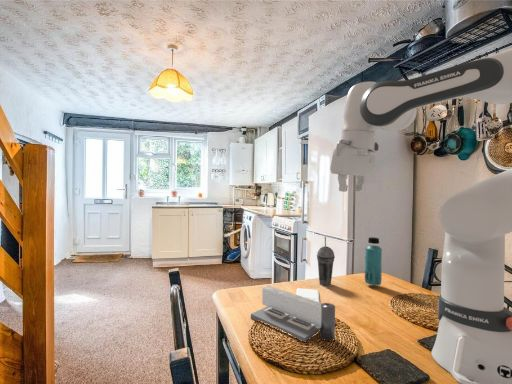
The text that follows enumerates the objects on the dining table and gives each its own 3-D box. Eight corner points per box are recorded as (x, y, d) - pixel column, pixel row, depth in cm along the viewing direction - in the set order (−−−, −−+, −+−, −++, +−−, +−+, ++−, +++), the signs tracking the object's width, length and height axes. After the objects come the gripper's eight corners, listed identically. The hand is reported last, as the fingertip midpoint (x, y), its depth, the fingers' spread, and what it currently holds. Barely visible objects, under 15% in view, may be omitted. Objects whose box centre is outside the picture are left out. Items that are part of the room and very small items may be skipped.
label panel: (335, 321, 81) (335, 316, 81) (304, 342, 69) (304, 336, 69) (283, 302, 94) (283, 298, 94) (250, 317, 82) (250, 312, 82)
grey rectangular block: (337, 337, 71) (337, 305, 71) (330, 342, 69) (330, 310, 69) (269, 309, 87) (269, 283, 87) (261, 313, 85) (262, 286, 85)
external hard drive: (318, 294, 104) (319, 307, 92) (296, 292, 106) (294, 304, 94) (318, 289, 104) (319, 302, 92) (296, 287, 106) (294, 300, 94)
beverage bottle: (382, 285, 113) (383, 237, 113) (380, 290, 108) (381, 239, 108) (365, 282, 117) (366, 235, 117) (362, 287, 111) (363, 237, 111)
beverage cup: (336, 283, 115) (337, 235, 115) (331, 288, 109) (332, 238, 109) (319, 280, 119) (320, 234, 119) (313, 284, 113) (314, 236, 113)
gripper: (350, 138, 68) (343, 193, 70) (381, 146, 83) (375, 192, 84) (327, 138, 73) (321, 190, 74) (361, 146, 87) (356, 189, 89)
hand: (350, 191), depth 79 cm, fingers open, 8 cm apart
